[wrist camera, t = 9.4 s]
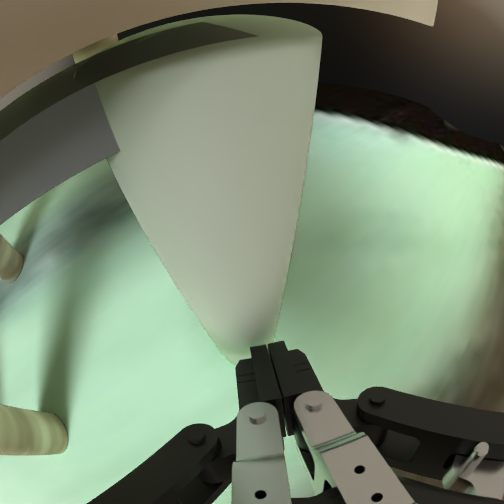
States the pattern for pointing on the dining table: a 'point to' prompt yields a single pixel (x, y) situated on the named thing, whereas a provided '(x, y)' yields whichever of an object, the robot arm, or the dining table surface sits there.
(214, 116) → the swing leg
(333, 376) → the dining table surface
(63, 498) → the dining table surface
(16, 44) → the stool
